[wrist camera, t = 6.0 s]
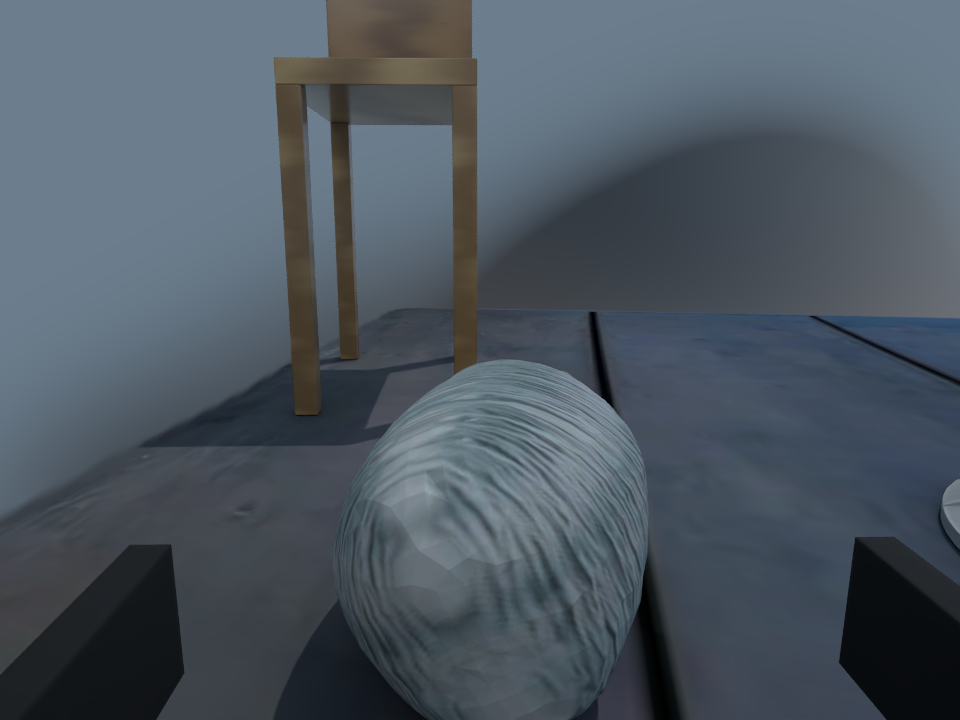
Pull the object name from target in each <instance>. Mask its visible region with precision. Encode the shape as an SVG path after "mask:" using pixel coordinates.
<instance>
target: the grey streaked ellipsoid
mask: <svg viewBox="0 0 960 720" xmlns="http://www.w3.org/2000/svg"><path fill="white" fill-rule="evenodd" d="M648 517H649V513H648V495H647V482H646V470H645V466H644V462H643V458H642V455H641V452H640V450H639V447H638V444H637V442H636V440H635V438H634V436H633V435H632V433H631V431H630V429H629V428H628V426H627V425H626V424H625V422H624V421H623V420H622V419H621V418H620V417H619V416H618V415H617V413H616V412H615V411H614V410H613V409H612V407H611V406H610V405H609V404H608V403H607V402H606V401H605V400H603V399H602V398H601V397H599V396H598V395H597V394H596V393H594V392H593V391H592V390H591V389H589V388H588V387H587V386H586V385H584V384H582V383H581V382H579V381H577V380H576V379H574V378H573V377H572V376H570V375H569V374H568V373H566V372H563V371H559V370H556V369H554V368H551V367H548V366H545V365H542V364H538V363H533V362H527V361H520V360H496V361H490V362H484V363H478V364H475V365H472V366H470V367H467V368H465V369H463V370H461V371H460V372H458V373H456V374H455V375H454V376H453V377H452V378H450V379H448V380H447V381H445V382H443V383H441V384H440V385H438V386H437V387H435V388H434V389H432V390H431V391H429V392H428V393H427V394H425V395H424V396H423V397H422V398H420V399H419V400H418V401H417V402H415V403H414V404H413V405H412V406H410V407H409V408H408V409H407V410H406V411H405V412H404V413H403V414H402V415H401V416H400V417H399V418H398V419H397V420H396V421H395V422H393V423H392V424H391V426H390V427H389V429H388V430H387V431H386V433H385V434H384V435H383V436H382V437H381V439H380V440H379V441H378V442H377V443H376V444H375V446H374V447H373V449H372V451H371V452H370V454H369V456H368V458H367V459H366V461H365V462H364V464H363V466H362V467H361V468H360V470H359V471H358V472H357V474H356V476H355V478H354V480H353V482H352V484H351V486H350V489H349V491H348V494H347V497H346V499H345V502H344V505H343V508H342V511H341V515H340V519H339V522H338V526H337V531H336V538H335V545H334V552H333V571H334V580H335V587H336V592H337V594H338V597H339V601H340V604H341V608H342V612H343V615H344V617H345V619H346V621H347V623H348V625H349V627H350V629H351V631H352V633H353V635H354V637H355V639H356V641H357V642H358V644H359V646H360V648H361V649H362V651H363V652H364V653H365V655H366V656H367V657H368V658H369V660H370V661H371V662H372V663H373V665H374V666H375V667H376V668H377V670H378V671H379V672H380V673H381V675H382V676H383V677H384V678H385V680H386V681H387V682H388V683H389V685H390V686H391V687H392V688H393V689H394V690H395V691H396V692H397V693H398V694H399V695H400V696H401V697H402V698H403V699H404V701H405V702H406V703H407V704H408V705H409V706H410V707H411V708H412V709H414V710H415V711H417V712H418V713H420V714H421V715H422V716H424V717H425V718H427V719H428V720H573V719H574V718H576V717H578V716H579V715H581V714H583V713H584V712H585V711H586V710H587V709H588V708H589V706H590V705H591V704H592V703H593V702H594V701H595V700H596V698H597V697H598V696H599V695H600V694H601V693H602V692H603V691H604V689H605V687H606V685H607V683H608V681H609V679H610V676H611V674H612V672H613V670H614V668H615V665H616V663H617V661H618V658H619V656H620V653H621V651H622V648H623V646H624V643H625V641H626V638H627V636H628V633H629V630H630V628H631V625H632V623H633V620H634V617H635V615H636V612H637V609H638V606H639V604H640V601H641V591H642V581H643V574H644V569H645V563H646V558H647V539H648Z"/></svg>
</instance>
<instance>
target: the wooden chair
mask: <svg viewBox="0 0 960 720" xmlns="http://www.w3.org/2000/svg"><path fill="white" fill-rule="evenodd" d="M326 5H327V28H328V50H329V51H328V52H329V57H328V58H326V57H322V58H321V57H320V58H319V57H274V70H275V84H276V101H277V118H278V135H279V152H280V167H281V184H282V202H283V219H284V236H285V253H286V269H287V287H288V302H289V303H288V304H289V321H290V338H291V354H292V372H293V388H294V405H295V415H318V413H319V412H320V410H321V409H322V400H321V380H320V360H319V341H318V321H317V300H316V281H315V262H314V243H313V242H314V241H313V221H312V203H311V202H312V201H311V182H310V161H309V142H308V124H307V123H308V122H307V106H308V107H309V108H311V109H312V110H314V111H315V112H317V113H318V114H319V115H321V116H322V117H324V118H325V119H326V120H328V121H329V122H331V145H332V146H331V147H332V170H333V193H334V215H335V239H336V261H337V283H338V307H339V327H340V328H339V329H340V353H341V359H357V358H358V357H359V330H358V305H357V279H356V278H357V277H356V250H355V224H354V198H353V171H352V145H351V125H452V137H453V138H452V139H453V141H452V142H453V270H454V272H453V273H454V274H453V275H454V375H455V374H456V373H458V372H460V371H461V370H463V369H465V368H467V367H470V366H472V365H475V364H477V59H472V0H326Z"/></svg>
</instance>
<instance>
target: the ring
mask: <svg viewBox="0 0 960 720" xmlns="http://www.w3.org/2000/svg"><path fill="white" fill-rule="evenodd" d="M941 521H942V524H943V527H944V529H945V531H946V533H947V534H948V536H949V537H950V539H951V540H952V542H953V543H954V544H955V545H956V546H957V547H958V548H959V549H960V479H959V480H956V481H955V482H953V483H952V484H951V485H950V486H949V487H948V488H947V489H946V491H945V493H944V495H943V499H942V506H941Z"/></svg>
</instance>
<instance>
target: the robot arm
mask: <svg viewBox="0 0 960 720" xmlns="http://www.w3.org/2000/svg"><path fill="white" fill-rule="evenodd" d="M839 663H840V664H841V666H842V667H843V668H844V669H845V670H846V672H847V673H848V674H849V675H850V676H851V678H852V679H853V680H854V681H855V682H856V684H857V685H858V686H859V687H860V688H861V690H862V691H863V692H864V693H865V694H866V695H867V697H868V698H869V699H870V700H871V701H872V703H873V704H874V705H875V706H876V707H877V709H878V710H879V711H880V712H881V713H882V715H883V716H884V717H885V718H886V719H887V720H960V586H959V585H958V584H956V583H955V582H954V581H952V580H951V579H950V578H948V577H947V576H946V575H944V574H943V573H942V572H940V571H939V570H938V569H936V568H935V567H934V566H932V565H931V564H930V563H928V562H927V561H926V560H924V559H923V558H922V557H920V556H919V555H918V554H916V553H915V552H914V551H912V550H911V549H910V548H908V547H907V546H906V545H904V544H903V543H902V542H900V541H899V540H898V539H896V538H895V537H855V544H854V552H853V559H852V567H851V575H850V582H849V590H848V598H847V606H846V613H845V621H844V629H843V636H842V644H841V652H840V659H839ZM183 674H184V665H183V655H182V646H181V636H180V626H179V617H178V607H177V597H176V588H175V578H174V569H173V559H172V549H171V545H129V546H128V547H127V548H126V549H125V550H124V551H123V552H122V554H121V555H120V556H119V557H118V558H117V559H116V560H115V561H114V562H113V563H112V564H111V565H110V566H109V567H108V568H107V569H106V570H105V571H104V572H103V573H102V574H101V575H100V576H99V577H98V578H97V579H96V580H95V581H94V582H93V583H92V584H91V585H90V586H89V587H88V588H87V589H86V590H85V591H84V592H83V593H82V594H81V595H80V596H79V597H78V598H77V599H76V600H75V601H74V602H73V603H72V604H71V605H70V606H69V607H68V608H67V609H66V610H65V611H64V612H63V613H62V614H61V615H60V616H59V617H58V618H57V619H56V620H55V621H54V622H53V623H52V624H51V625H50V626H49V627H48V628H47V629H46V630H45V631H44V632H43V633H42V634H41V635H40V636H39V637H38V638H37V639H36V640H35V641H34V642H33V643H32V644H31V645H30V646H29V647H28V648H27V649H26V650H25V651H24V652H23V653H22V654H21V655H20V656H19V657H18V658H17V659H16V660H15V661H14V662H13V663H12V664H11V665H10V666H9V667H8V668H7V669H6V670H5V671H4V672H3V673H2V674H1V675H0V720H156V719H157V717H158V716H159V714H160V712H161V711H162V709H163V707H164V706H165V704H166V702H167V701H168V699H169V697H170V696H171V694H172V692H173V691H174V689H175V687H176V686H177V684H178V682H179V681H180V679H181V677H182V676H183Z"/></svg>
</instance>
